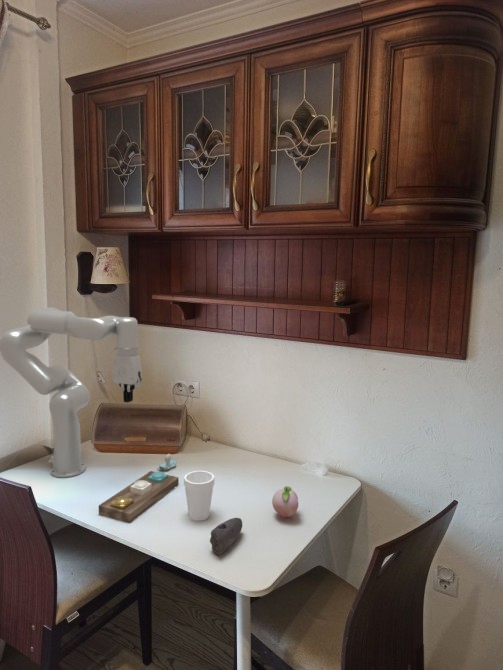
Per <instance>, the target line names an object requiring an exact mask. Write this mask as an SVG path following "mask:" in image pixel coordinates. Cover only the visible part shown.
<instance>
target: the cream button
mask: <svg viewBox="0 0 503 670" xmlns="http://www.w3.org/2000/svg"><path fill="white" fill-rule="evenodd" d="M134 482H135V481H134ZM150 490H152V483H148V482H147V481H144V480H140V481H137V482H135V483H134V484H133V485H132V486H130V493H133V494H137V495H141V496H144V495H145V494H146V493H148V492H149V491H150Z"/></svg>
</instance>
